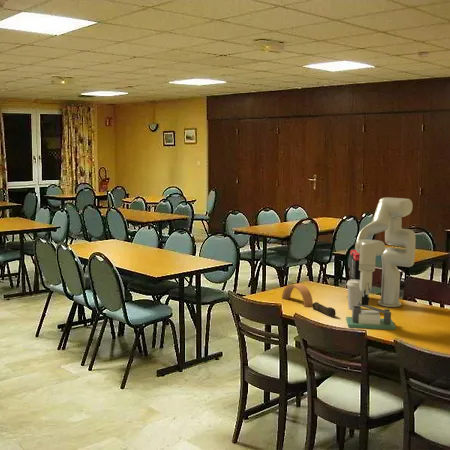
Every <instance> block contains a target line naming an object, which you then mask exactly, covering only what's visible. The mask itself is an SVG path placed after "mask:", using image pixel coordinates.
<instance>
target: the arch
mask: <svg viewBox="0 0 450 450" xmlns="http://www.w3.org/2000/svg"><path fill="white" fill-rule="evenodd" d="M294 289H297V291H298V292H299V293H300V295H301V297H302V301H303V307H304V308H306V307H313V306H312V304H313V303H314V302H313V297H312V294H311V292H310V290H309V288H307V287H306V286H305V285H304V284H302V283H293V284H288V285H287V286H286V287H284V289H283V291H282V294H281V295H282V296H281V299H282V300H286V299H290V298H292V297H291V296H292V295H291V294H292V291H293V290H294Z"/></svg>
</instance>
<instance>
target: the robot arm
mask: <svg viewBox="0 0 450 450" xmlns="http://www.w3.org/2000/svg"><path fill="white" fill-rule="evenodd" d="M412 211H413V202H412V199H410V198H402V197H382V198H380V199H379V200H378V203H377V206H376V209H375V212H374V214H373V217H372V220H371V222H370V223H368V224H367V225H366V224H365V226H363V228H362V229H360V231H359V233H358V235H357V237H356V241H355V245H354V248H355V249H354V250H356V252H357V253H359V254H360V260H359V270H360V271H361V273H360V285H359V288H360V290H361V291H362V305H369V304H370V302H369V301H370V292H372V287H373V285H372V284H373V272H375V271H376V258H377V256H378V257H379V256H381V257H380V258H381V265H382V266H381V267H382V270H381V271H382V272H381V290H380V291H381V292H380V293H381V294H380V299H379V300H378V301H377V305H379V306H381V307H387V308H399V307H401V306H402V302H401V301H400V286H401V272H400V270H399V268H398V267H405V268H410V267H413V266H414V264H415V259H416V238H417V237H416V233H415V231H414V230H412V229H408V228H402V223H403V222H402V221H403V220H402V218H404V217H405V218H406V216H409V215H411V213H412ZM382 232H384V241H382V240H377V239H367V238H369V237H370V236H373V235H376V234H379V233H382ZM386 245H388V246H392V247H386ZM393 246H394V247H393ZM395 246H396V247H395ZM399 247H404V248H399ZM369 306H370V305H369Z"/></svg>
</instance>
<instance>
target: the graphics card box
mask: <svg viewBox="0 0 450 450" xmlns="http://www.w3.org/2000/svg"><path fill="white" fill-rule="evenodd" d="M349 259H350V260H349V280H360V273H361V271H360V270H359V260H360V254H359V253H357V252H356V250H355V249H350V258H349Z"/></svg>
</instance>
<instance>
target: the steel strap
mask: <svg viewBox="0 0 450 450" xmlns="http://www.w3.org/2000/svg"><path fill="white" fill-rule="evenodd" d="M357 305H358V306H361V308H365V309H368V310H373V311H378V312H379V313H382V314H384V313H385V314H386V312H388V311H386V310H384V309H381V308H378V307H375V306H371V305H362V303H360V300H359V301H358V302H357Z"/></svg>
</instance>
